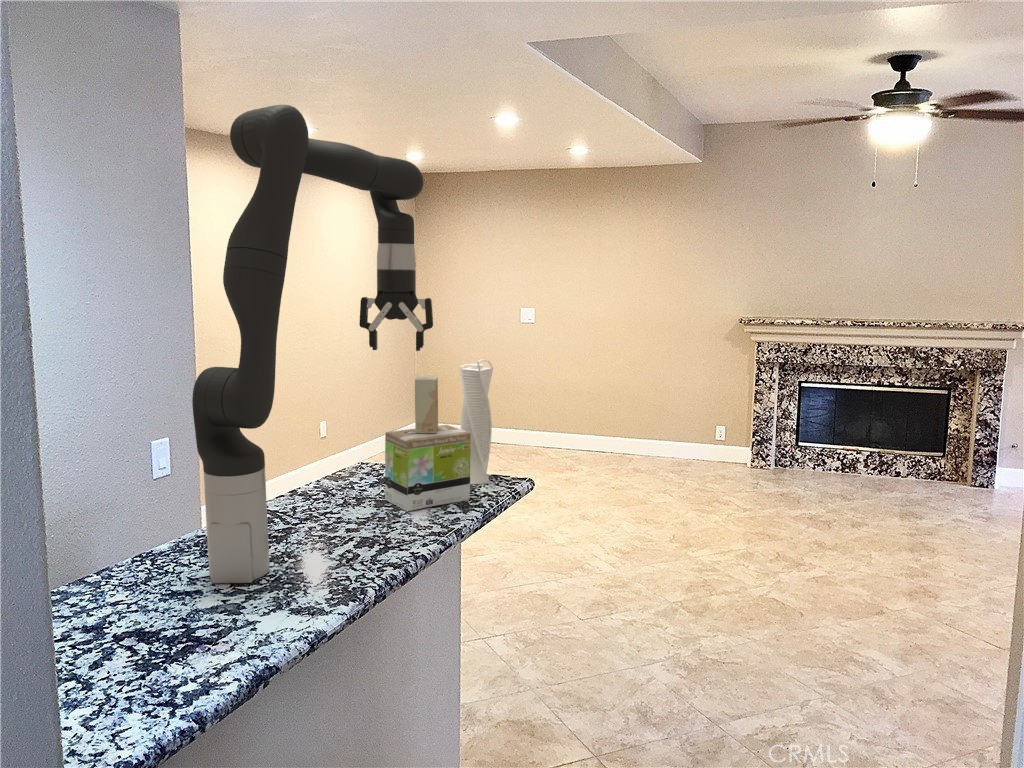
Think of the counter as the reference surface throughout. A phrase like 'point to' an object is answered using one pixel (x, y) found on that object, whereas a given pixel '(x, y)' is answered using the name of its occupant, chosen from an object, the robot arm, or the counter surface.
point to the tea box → (427, 467)
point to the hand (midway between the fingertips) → (396, 350)
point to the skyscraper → (477, 417)
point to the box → (426, 404)
